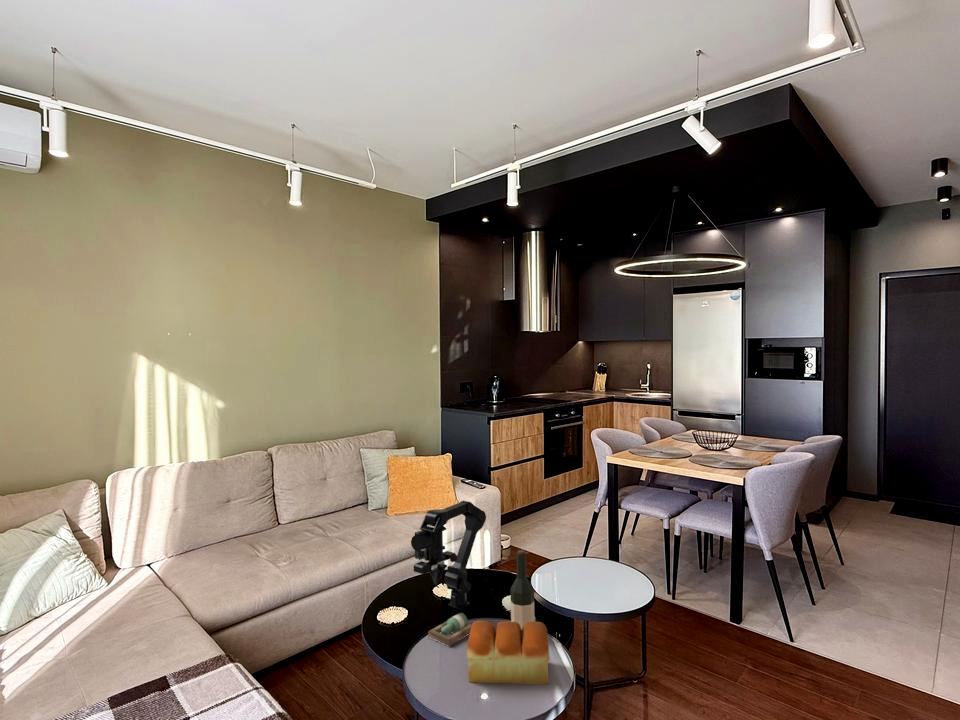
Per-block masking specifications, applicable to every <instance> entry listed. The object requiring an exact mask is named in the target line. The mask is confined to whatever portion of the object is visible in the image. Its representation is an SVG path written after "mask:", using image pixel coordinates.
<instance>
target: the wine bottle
mask: <svg viewBox="0 0 960 720" xmlns="http://www.w3.org/2000/svg"><path fill="white" fill-rule="evenodd" d="M509 592H510V622H517V623H519V624H520V627H521V634H522V628H523V626H524V624H525V623H527V622H536V621H535V618H536V617H535V590H534V587H533V586H532V584H531V582H530V580H529V579H528V577H527V553H526V551H525V550H523V549H519V550H517V553H516V578H515V580H514V581H513V583H512V585H511V587H510V590H509Z"/></svg>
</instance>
